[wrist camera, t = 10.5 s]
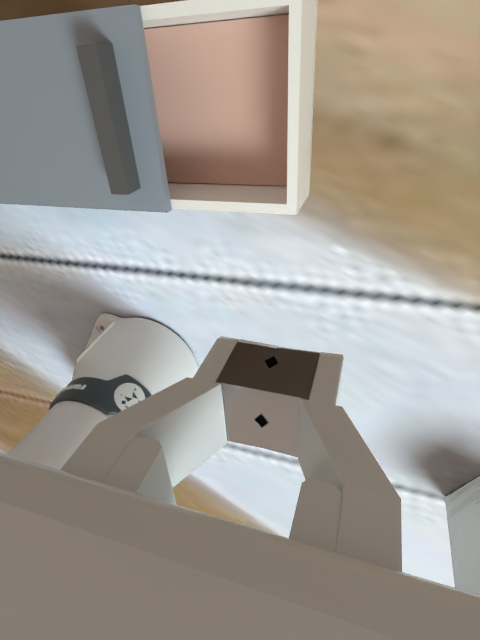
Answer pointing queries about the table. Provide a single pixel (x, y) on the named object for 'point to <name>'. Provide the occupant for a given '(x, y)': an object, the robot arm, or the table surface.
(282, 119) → the base
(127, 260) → the table surface
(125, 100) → the grey flat rectangular panel
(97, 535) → the robot arm
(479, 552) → the skincare box
